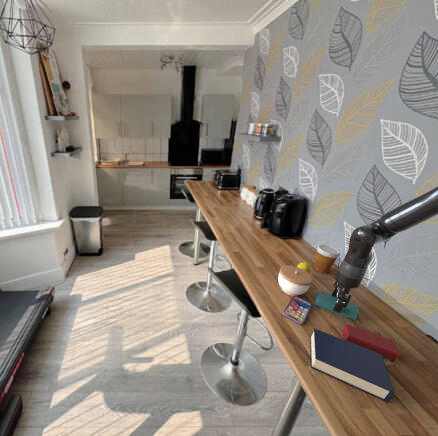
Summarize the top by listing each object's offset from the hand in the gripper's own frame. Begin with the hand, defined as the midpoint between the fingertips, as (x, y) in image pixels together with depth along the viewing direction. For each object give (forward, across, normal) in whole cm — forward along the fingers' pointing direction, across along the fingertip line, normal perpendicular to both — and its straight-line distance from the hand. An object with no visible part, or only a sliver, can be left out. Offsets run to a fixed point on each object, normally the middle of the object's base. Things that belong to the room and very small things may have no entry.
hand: (335, 304), depth 96 cm
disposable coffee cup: (+2, +30, +3) cm, 30 cm away
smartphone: (+2, -10, +13) cm, 16 cm away
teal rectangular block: (+2, 0, 0) cm, 2 cm away
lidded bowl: (+2, +2, +16) cm, 16 cm away
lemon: (+2, +17, +12) cm, 21 cm away
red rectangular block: (+2, -15, -8) cm, 17 cm away
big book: (+2, -29, 0) cm, 29 cm away
